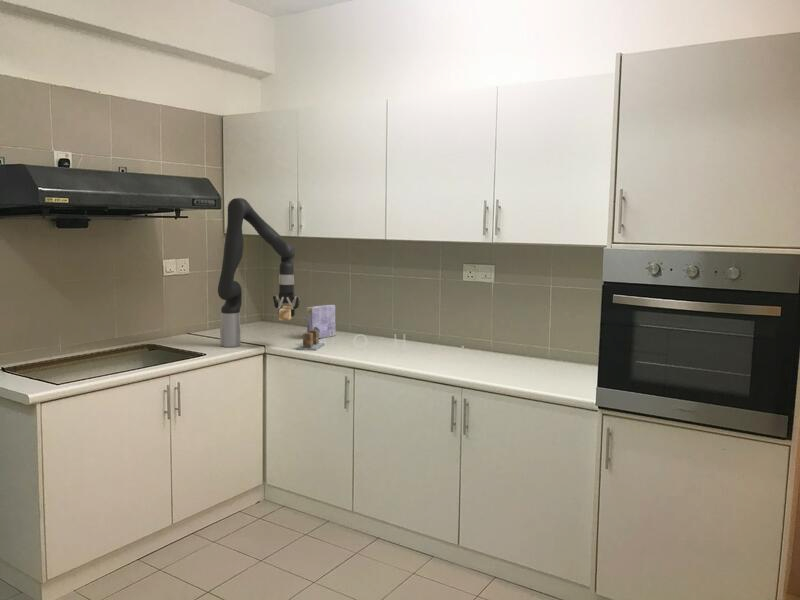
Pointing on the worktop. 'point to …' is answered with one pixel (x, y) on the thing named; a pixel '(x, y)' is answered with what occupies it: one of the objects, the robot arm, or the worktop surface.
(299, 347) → the blueprint plate
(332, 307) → the cake pan box
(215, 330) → the worktop surface
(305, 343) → the posts
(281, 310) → the oak crossbeam
